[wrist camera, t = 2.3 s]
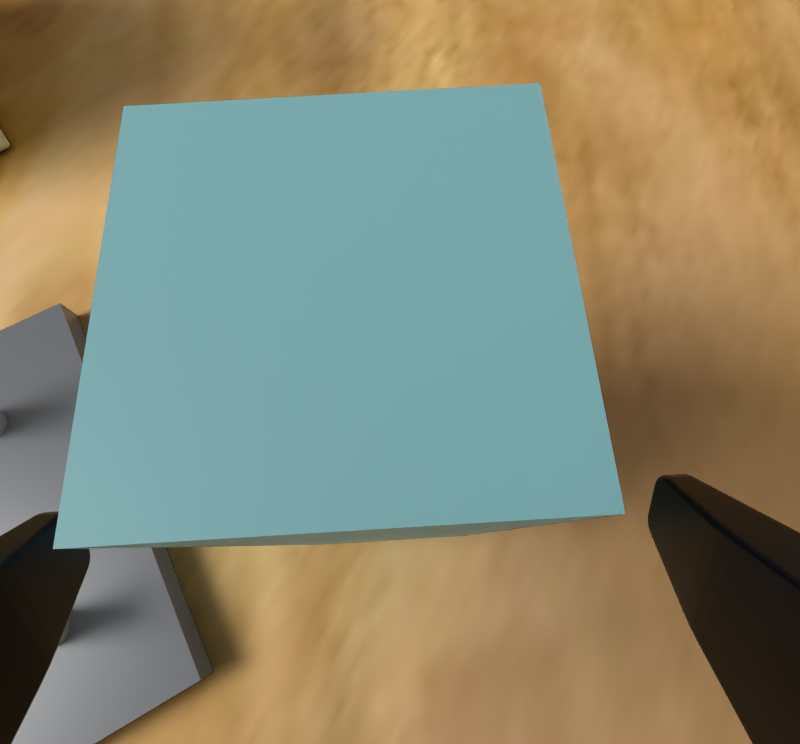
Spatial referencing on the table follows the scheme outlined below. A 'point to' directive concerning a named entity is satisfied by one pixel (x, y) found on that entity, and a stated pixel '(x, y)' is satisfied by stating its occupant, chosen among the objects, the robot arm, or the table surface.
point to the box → (3, 142)
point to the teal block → (335, 328)
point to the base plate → (109, 567)
